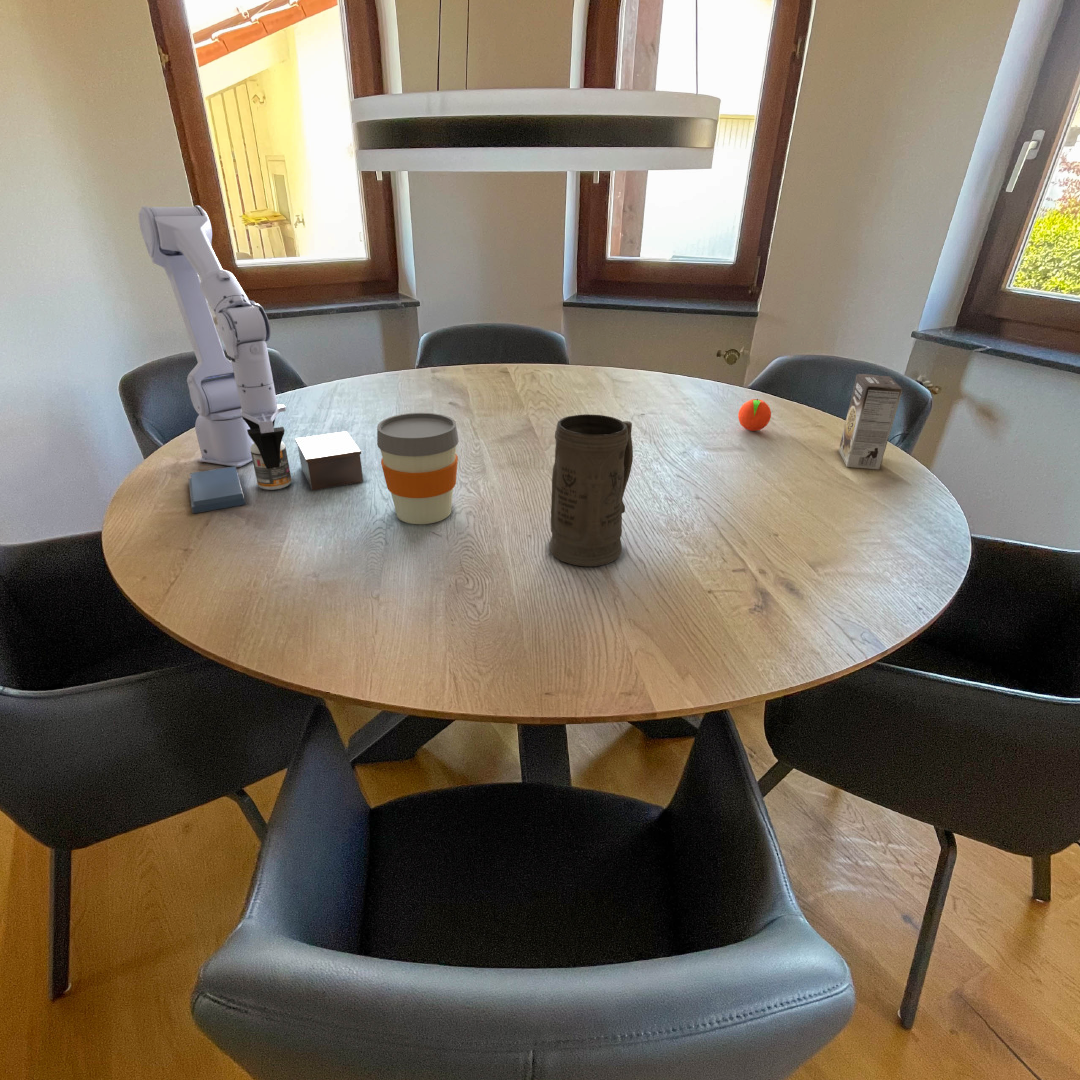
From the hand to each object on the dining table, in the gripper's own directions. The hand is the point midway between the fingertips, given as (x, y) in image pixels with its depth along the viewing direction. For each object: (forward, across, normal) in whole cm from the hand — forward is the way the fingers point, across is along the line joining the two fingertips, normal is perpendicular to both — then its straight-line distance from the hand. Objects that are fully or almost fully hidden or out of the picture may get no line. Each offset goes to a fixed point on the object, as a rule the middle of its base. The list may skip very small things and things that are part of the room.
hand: (269, 459), depth 115 cm
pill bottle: (+5, 0, 0) cm, 5 cm away
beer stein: (+5, -43, -40) cm, 59 cm away
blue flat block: (+5, 0, +10) cm, 11 cm away
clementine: (+5, -14, -99) cm, 100 cm away
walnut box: (+5, 0, -10) cm, 11 cm away
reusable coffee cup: (+5, -22, -20) cm, 30 cm away
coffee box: (+5, -37, -106) cm, 112 cm away
